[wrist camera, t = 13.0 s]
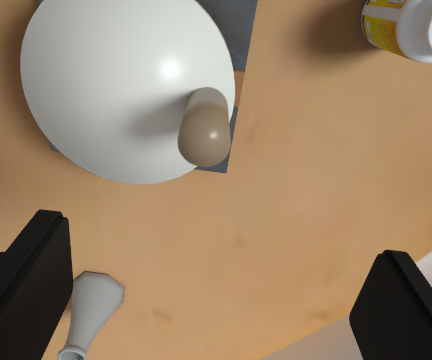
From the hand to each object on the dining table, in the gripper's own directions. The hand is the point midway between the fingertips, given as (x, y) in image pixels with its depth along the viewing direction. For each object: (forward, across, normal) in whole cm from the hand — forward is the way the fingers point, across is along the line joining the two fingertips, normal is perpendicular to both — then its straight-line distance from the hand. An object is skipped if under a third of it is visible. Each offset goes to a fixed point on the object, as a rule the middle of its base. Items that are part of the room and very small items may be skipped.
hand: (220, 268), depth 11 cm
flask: (+26, +12, +31) cm, 42 cm away
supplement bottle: (+27, -14, -7) cm, 31 cm away
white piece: (+21, +7, +1) cm, 22 cm away
